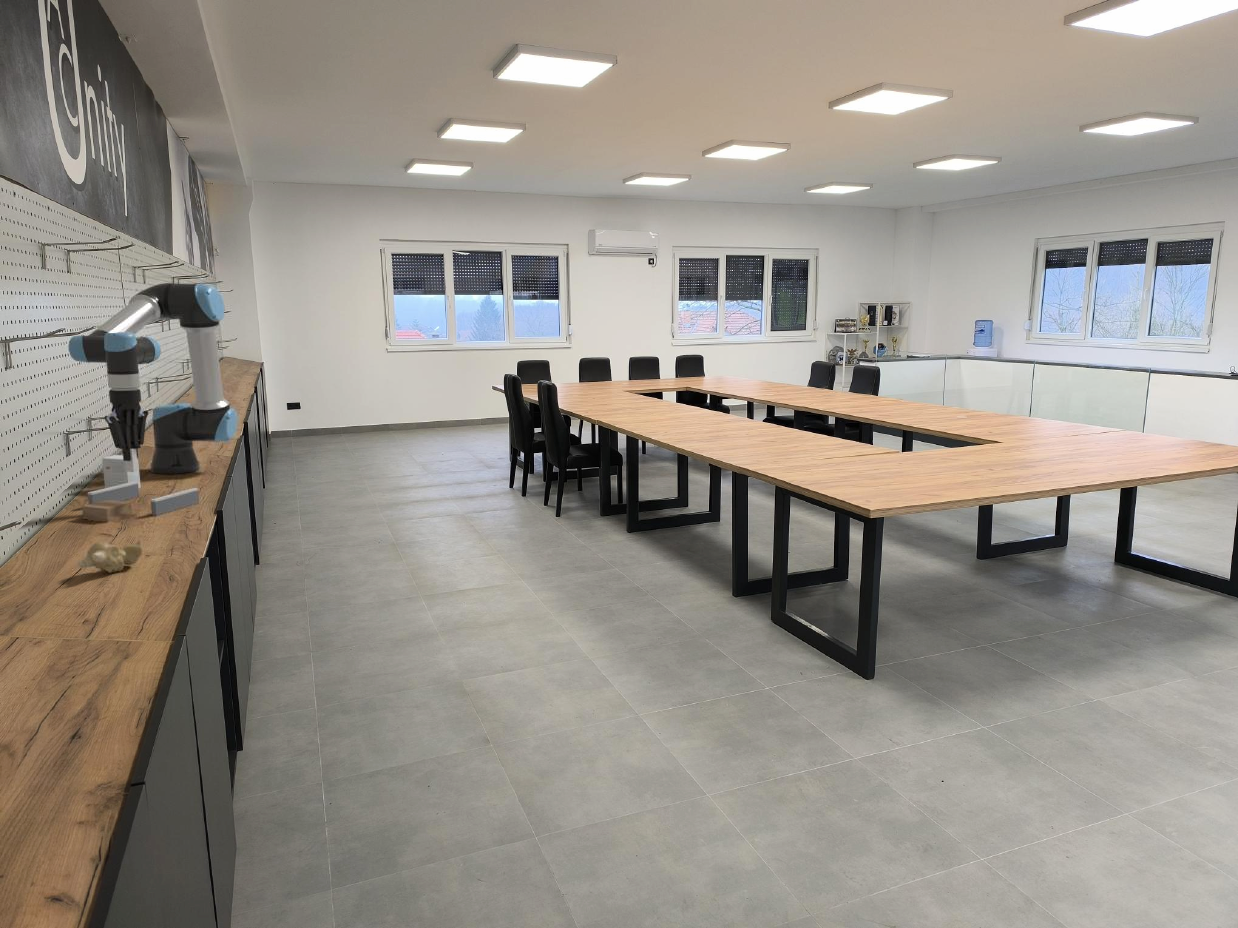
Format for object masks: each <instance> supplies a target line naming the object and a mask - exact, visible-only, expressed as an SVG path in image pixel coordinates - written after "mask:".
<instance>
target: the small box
mask: <svg viewBox="0 0 1238 928" xmlns="http://www.w3.org/2000/svg"><path fill="white" fill-rule="evenodd" d="M101 459H102V460H101V461H102V470H103V480H104V489H105V488H109V487H113V486H117V485H122V484H126V483H130V482H138V488H139V490H140V489H141V479H140V477H141V476H140V468H139V467H140V466H139V458H138V459H137V465H138V471H137V472H127V471H126V467H125V461H124V460H123V454H122V455H121V454H114V455H109V456H105V457H103V458H101Z"/></svg>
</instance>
